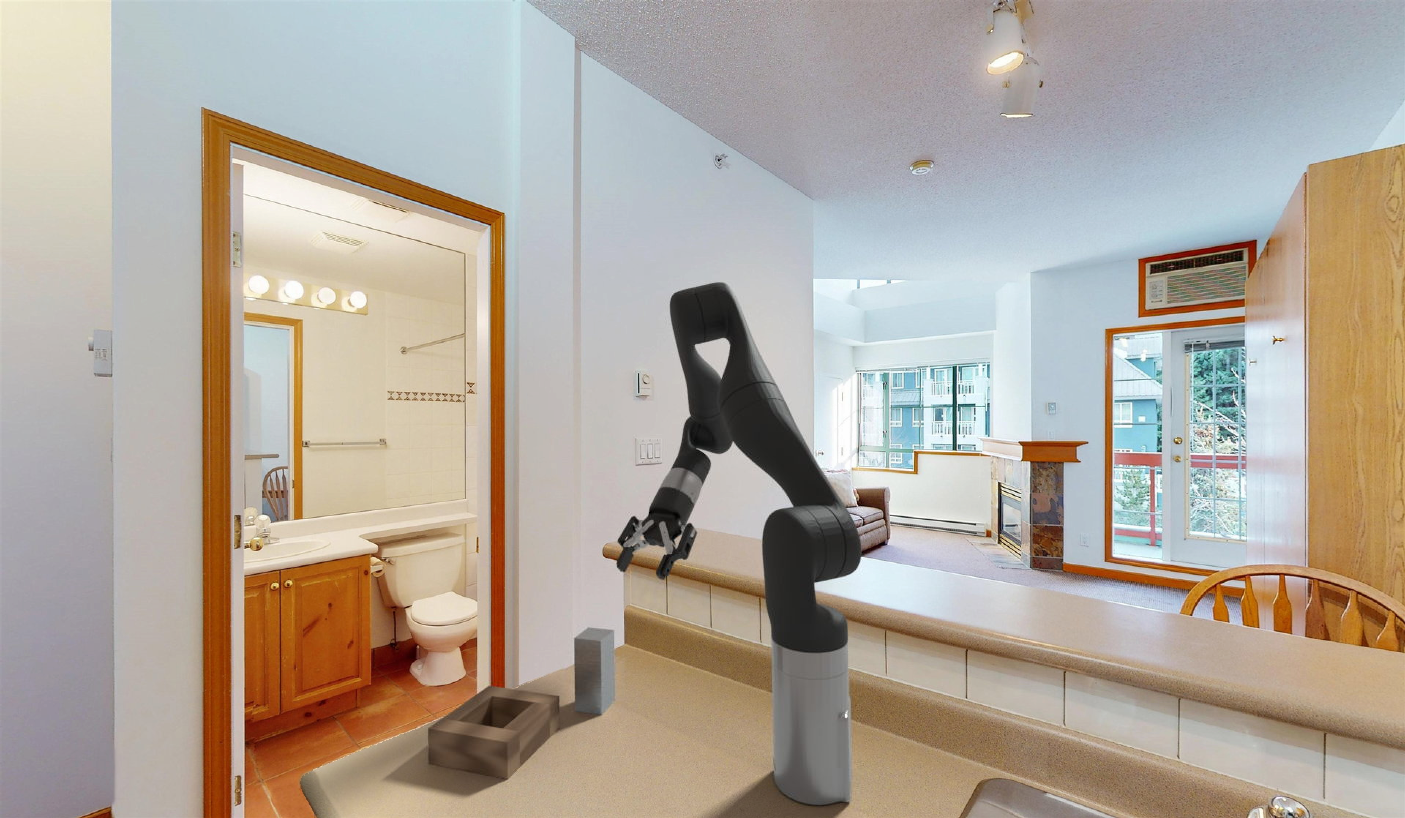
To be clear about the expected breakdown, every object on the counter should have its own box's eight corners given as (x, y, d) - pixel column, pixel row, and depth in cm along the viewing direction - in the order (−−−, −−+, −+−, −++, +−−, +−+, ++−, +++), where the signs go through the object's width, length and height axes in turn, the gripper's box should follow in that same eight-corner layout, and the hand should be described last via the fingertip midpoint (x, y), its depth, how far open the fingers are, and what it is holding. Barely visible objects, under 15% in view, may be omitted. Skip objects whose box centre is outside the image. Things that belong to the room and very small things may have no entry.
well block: (559, 727, 80) (559, 695, 81) (507, 779, 69) (507, 742, 69) (489, 715, 84) (488, 685, 84) (428, 763, 72) (428, 728, 73)
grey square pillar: (615, 700, 88) (614, 629, 88) (601, 714, 84) (600, 640, 84) (589, 696, 89) (588, 627, 90) (575, 710, 85) (574, 638, 85)
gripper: (638, 482, 108) (597, 556, 98) (701, 488, 100) (664, 567, 90) (654, 506, 112) (617, 578, 102) (716, 512, 105) (682, 591, 95)
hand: (639, 573), depth 96 cm, fingers open, 8 cm apart
